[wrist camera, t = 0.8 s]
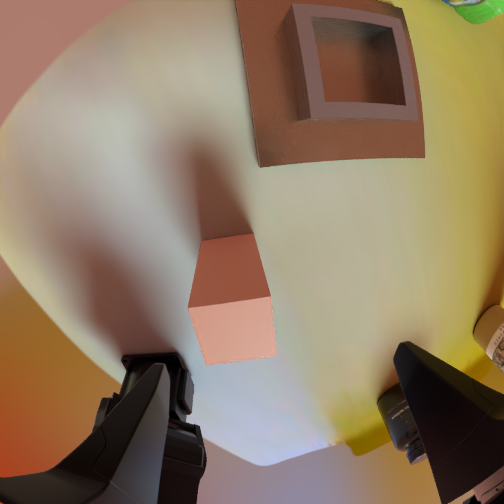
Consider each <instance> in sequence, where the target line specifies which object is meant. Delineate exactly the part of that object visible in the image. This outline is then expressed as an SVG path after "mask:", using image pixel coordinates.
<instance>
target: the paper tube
mask: <svg viewBox="0 0 504 504" xmlns="http://www.w3.org/2000/svg"><path fill="white" fill-rule="evenodd" d="M474 340H475V341H476V342H477V343H478V344H479V346H480V347H481V348H482V349H483V350H484V351H485V352H486V353H487V355H488V356H489V357H490V358H491V359H492V360H493V362H494V363H495V364H496V365H497V366H498V367H499V369H500V370H501V371H502V372H503V373H504V309H503V308H502V307H501V306H499V305H493V306H491V307H490V308H489V309H487V310H486V312H485V313H484V314H483V315H482V316H481V318H480V319H479V321H478V323H477V325H476V327H475V330H474Z"/></svg>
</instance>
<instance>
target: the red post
mask: <svg viewBox="0 0 504 504" xmlns="http://www.w3.org/2000/svg"><path fill="white" fill-rule="evenodd" d="M188 311H189V314H190V317H191V320H192V324H193V327H194V330H195V333H196V336H197V339H198V342H199V346H200V349H201V352H202V355H203V357H204V360H205V363H206V365H212V364H221V363H229V362H237V361H245V360H252V359H258V358H265V357H271V356H277V349H276V339H275V330H274V320H273V311H272V302H271V295H270V291H269V288H268V284H267V280H266V277H265V273H264V269H263V266H262V262H261V258H260V255H259V251H258V248H257V244H256V240H255V237H254V233H250V234H243V235H237V236H230V237H224V238H217V239H211V240H204V241H202V242H201V246H200V251H199V256H198V260H197V265H196V270H195V274H194V279H193V284H192V289H191V294H190V299H189V304H188Z"/></svg>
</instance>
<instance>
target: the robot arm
mask: <svg viewBox="0 0 504 504" xmlns="http://www.w3.org/2000/svg"><path fill="white" fill-rule="evenodd" d="M174 357H175V358H174ZM393 361H394V365H395V368H396V371H397V374H398V378H399V381H400V384H401V388H402V391H403V393H404V396H405V399H406V401H407V403H408V406H409V408H410V411H411V413H412V416H413V419H414V421H415V424H416V426H417V429H418V432H419V434H420V437H421V440H422V443H423V446H424V448H425V451H426V454H427V457H428V460H429V463H430V466H431V469H432V473H433V476H434V479H435V482H436V486H437V489H438V493H439V496H440V500H441V503H442V504H448V503H450V502H452V501H453V500H455V499H457V498H458V497H460V496H462V495H463V494H465V493H466V492H468V491H470V490H471V489H473V492H474V495H473V496H471V497H470V498H468V499H467V500H465V501H464V502H463V504H504V394H502V393H500V392H497V391H495V390H493V389H491V388H489V387H487V386H485V385H483V384H482V383H480V382H478V381H476V380H475V379H473V378H471V377H470V376H468V375H466V374H464V373H463V372H461V371H459V370H458V369H456V368H454V367H452V366H451V365H449V364H447V363H446V362H444V361H442V360H441V359H439V358H437V357H435V356H434V355H432V354H430V353H429V352H427V351H425V350H423V349H422V348H420V347H418V346H417V345H415V344H413V343H411V342H410V341H405V342H401V343H400V344H399V345H398V348H397V350H396V352H395V355H394V358H393ZM121 362H122V363H123V365H124V367H125V369H126V370H127V371H126V374H125V377H124V380H123V383H122V387H121V390H120V393H119V394H117V393H115V392H114V393H113V395H112V397H111V398H102V400H101V402H100V406H99V408H98V411H97V415H96V418H95V422H94V427H93V431H92V433H91V434H90V435H89V436H88V437H87V438H86V440H84V441H83V442H82V443H81V444H80V445H79V446H78V447H77V448H76V449H75V450H74V451H72V452H71V453H70V454H69V455H68V456H67V457H65V458H64V459H63V460H62V461H61V462H60V463H58V464H57V465H56V466H55V467H53V468H51V469H50V470H48V471H45V472H41V473H35V474H28V475H21V476H14V477H0V502H1V503H2V504H196V503H197V494H198V486H199V482H200V479H201V478H202V476H203V474H204V471H205V468H206V462H207V460H206V459H207V457H206V452H205V447H204V443H203V439H202V434H201V430H200V426H199V425H195V424H194V425H193V424H190V423H187V422H186V416H187V415H190V414H191V413H192V403H193V394H194V384H193V381H192V379H191V377H190V374H189V372H188V370H187V369H185V368H184V365H183V363H182V361H181V358H180V356H179V354H177V353H161V354H144V355H124V356H122V358H121Z"/></svg>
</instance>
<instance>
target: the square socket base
mask: <svg viewBox="0 0 504 504" xmlns="http://www.w3.org/2000/svg"><path fill="white" fill-rule="evenodd" d="M235 3H236V9H237V16H238V22H239V28H240V35H241V42H242V48H243V55H244V62H245V69H246V76H247V83H248V90H249V97H250V104H251V112H252V119H253V126H254V134H255V142H256V149H257V157H258V165H259V167H260V168H261V167H269V166H278V165H287V164H297V163H308V162H320V161H333V160H350V159H373V158H425V141H424V125H423V113H422V103H421V95H420V87H419V81H418V74H417V69H416V63H415V58H414V53H413V48H412V44H411V39H410V35H409V31H408V28H407V24H406V20H405V17H404V13H403V10H402V8H399V7H395V6H392V5H388V4H384V3H380V2H375V1H371V0H235Z"/></svg>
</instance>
